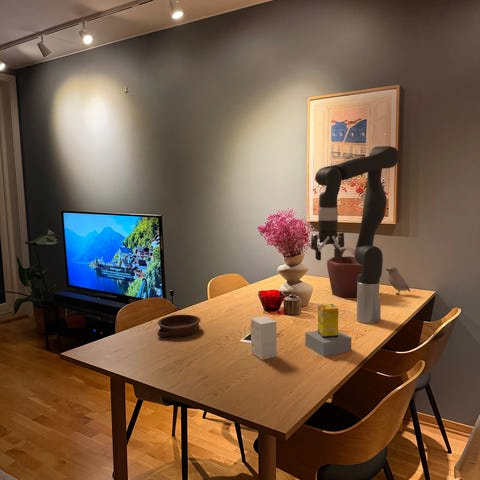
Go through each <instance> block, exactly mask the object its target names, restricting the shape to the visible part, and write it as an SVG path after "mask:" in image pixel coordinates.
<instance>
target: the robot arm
mask: <svg viewBox="0 0 480 480" xmlns="http://www.w3.org/2000/svg"><path fill="white" fill-rule="evenodd" d="M399 161H400V154H399V151H398V149H397V148H396V147H394V146H392V145H391V146H390V145H381V146H379V145H378V146H374V147H373V148H371V150H370V152H369V155H368V156H364V157H357V158H353V159H349V160H346V161H343V162H340V163H337V164H333V165H332V164H331V165H328V166H327V165H326V166H323V167H320V168H319V169H318V170H317V171H316V173H315V176H314V178H315V182H316V183H317V184H318V185H319V186H324V187H325V186H326V187H325V190H324V191H323V192H320V194H319V196H318V220H317V221H318V226H317V229H318V234H315V233H313V234H312V233H311V241H310V249H311V250H313V251H315V259H316V261H321V260H322V251H321V250H322V249H323V248H324V247H325V245H326V246H327V245H332V246H333V247H334V250H333V251H334V252H333V254H334V255H333V257H334V258H339V256H340V249H342V248H345V233H344V232H343V231H341V232H340V231H338V225H339V223H338V222H339V221H338V219H339V212H338V196H339V192H340V189H341V185H342V181H347V180H349V179H352V178H353V179H354V178H355V177H358V176H361V175H364V174H366V173H367V178H366V179H367V180H366V187H365V188H366V189H365V196H364V202H363V208H362V214H361V215H362V216H361V222H360V228H359V234H358V238H357V242H356V246H355V249H354V250H355V256H354V257H355V259H356V261H357V263H359V264H361V265H363V272H362V274H359V275H358V277H357V299H356V321H358V322H359V323H362V324H377V323H378V322H380V321H381V315H382V314H381V313H382V312H381V311H382V310H381V309H382V308H381V307H382V306H381V305H382V300H381V299H380V281H381V280H380V279H381V278H382V273H383V264H384V263H383V262H384V256H383V252H382V250H381V248H380V247H378V246H375V245H374V239H375V235H376V232H377V230H378V228H379V227H380V225H381V223H382V222H383V221H384V218H385V215H386V210H387V205H388V204H387V202H388V200H387V195H386V192H385V190H384V187H383V183H382V172H383V169H391V168H394V167H396V165H397V164H398V163H399Z"/></svg>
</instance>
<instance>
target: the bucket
mask: <svg viewBox="0 0 480 480" xmlns="http://www.w3.org/2000/svg"><path fill="white" fill-rule="evenodd" d="M346 250H347V251H348V252H350V253H351V254H352V255H353V256H350V255H349V256H343V254H344V253H345V251H346ZM326 268H327V269H326V270H327V272H328V278H329V283H330V289H331V294H332V296H335V297H337V298H339V299H340V298H341V299H352V300H353V299H354V300H355V299H356V300H357V277H358V275H359V274H362V272H363V265H361V264H359V263H357V261H356V259H355V249H353V248H351V247H342V248H340V256H339V258H334V256H333V257H330V258H328V260H326Z"/></svg>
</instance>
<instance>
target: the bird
mask: <svg viewBox="0 0 480 480" xmlns="http://www.w3.org/2000/svg"><path fill="white" fill-rule="evenodd" d="M384 269H385V271H387V272H388V273H387V275H388V276H387V277H388V281H389V283H390V285H391V286H392V287H393V288H394V289H395V290H397V292H395V294H396V296H400V295H401V292H402V291H404V292H406V291H408V292H409V293H411V289H410V287H409V286H408V284H407V282H406V281H405V278H404V277H403V275H402V274H401V273H400V271H399V270H398V269H397V268H396V267H395V266H389V267H388V268H384Z"/></svg>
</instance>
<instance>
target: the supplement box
mask: <svg viewBox="0 0 480 480" xmlns="http://www.w3.org/2000/svg"><path fill="white" fill-rule="evenodd" d="M317 330H318V333H319V334H320V335H321V336H322V338H332V337H338V331H339V308H338V307H337V306H335V304H333V303H328V304H327V303H326V304H318V305H317Z"/></svg>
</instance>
